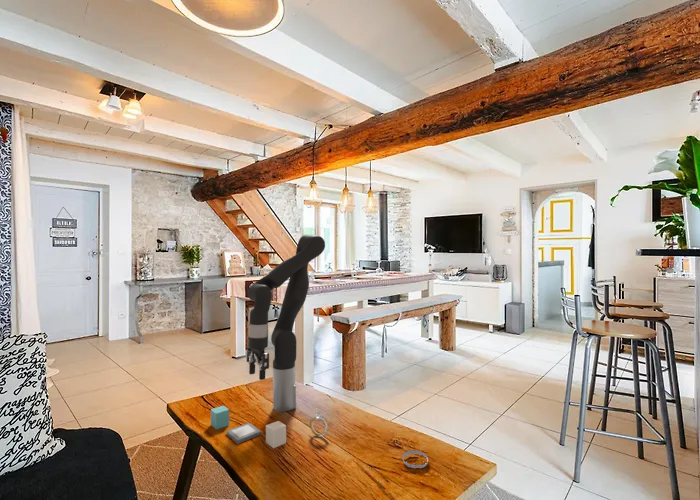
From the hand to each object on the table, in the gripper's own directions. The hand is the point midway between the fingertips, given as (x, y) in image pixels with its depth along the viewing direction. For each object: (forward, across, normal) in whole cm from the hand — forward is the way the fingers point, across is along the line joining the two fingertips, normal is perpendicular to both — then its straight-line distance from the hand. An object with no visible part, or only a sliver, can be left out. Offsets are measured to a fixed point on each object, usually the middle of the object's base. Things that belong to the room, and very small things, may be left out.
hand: (256, 376), depth 141 cm
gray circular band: (+16, -60, -24) cm, 66 cm away
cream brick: (+17, -20, +2) cm, 26 cm away
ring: (+17, -27, -11) cm, 33 cm away
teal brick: (+18, +6, +12) cm, 22 cm away
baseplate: (+17, -7, +8) cm, 20 cm away
